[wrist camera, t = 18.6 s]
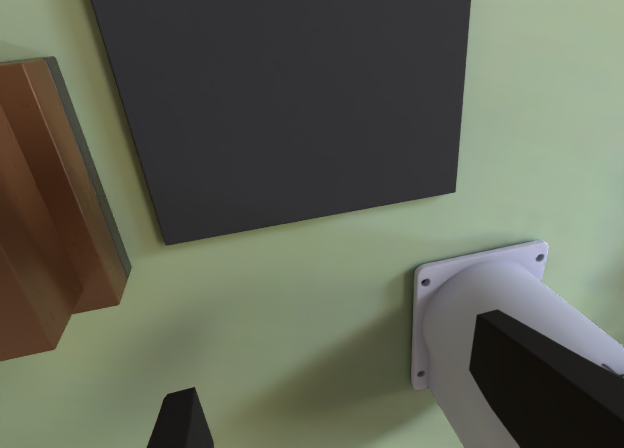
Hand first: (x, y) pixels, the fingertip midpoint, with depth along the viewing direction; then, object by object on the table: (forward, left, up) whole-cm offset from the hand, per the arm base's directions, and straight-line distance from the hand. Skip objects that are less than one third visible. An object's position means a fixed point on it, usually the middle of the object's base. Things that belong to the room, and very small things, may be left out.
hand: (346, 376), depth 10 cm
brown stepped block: (+3, +9, -10) cm, 14 cm away
